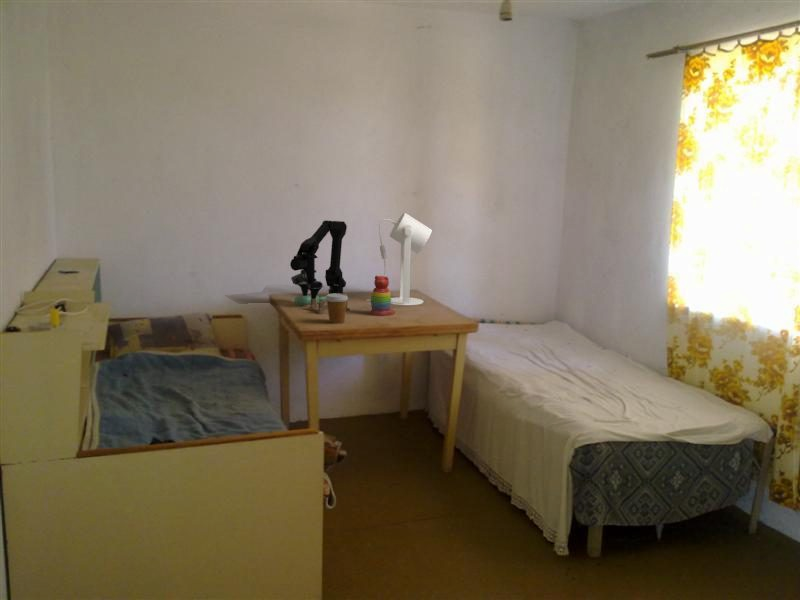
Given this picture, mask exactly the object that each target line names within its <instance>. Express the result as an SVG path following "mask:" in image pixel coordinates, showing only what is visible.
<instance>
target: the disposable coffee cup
mask: <svg viewBox="0 0 800 600" xmlns="http://www.w3.org/2000/svg"><path fill="white" fill-rule="evenodd" d="M326 296H327V297H326V299H327V301H326V302H327V304H326V305H328V312H329V313H328V319H329V320H328V321H329V323H330V324H333V323H336V324H337V323H338V324H337V325H339V323H340V324H344V323H345V319H346V318H345V316H346V312H347V311H346V304H347V305H348V300H349V297H348V295H347V293H343V294H341V293H333V294H329V293H328V294H327V295H326ZM336 324H335V325H336Z"/></svg>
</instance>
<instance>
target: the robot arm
mask: <svg viewBox="0 0 800 600" xmlns="http://www.w3.org/2000/svg"><path fill="white" fill-rule="evenodd" d="M347 228H348V226H347V223H346V222H345V221H341V220H340V221H339V220H323V221H322V223H321V225H320V226H319V227H318V228H317V230H316V231H315V232H314V233H313V234H312V235H311V236H310V237H309V238H307V239H305V240H304V241H302V243H301V244H300V246H299V248H298V251H297V253H296V255H293V258H292V259H291V260H290V263H289V265H290V268H291V270H293V271H300V273H298V274H295V275H293V276H292V277H291V278H290V279H291V281H292V284H293V285H296V286H298V287H299V288H300V290H301V293H302V296H308V292H310V295H311V299H315V298H316V296H317V295H318V294H319V292H320V290H322V288H323V283H322V282H321V281H318V280H317V278H315V277H316V275H315V274H316V273H317V270H316V268H315V267H316V266H315V262H316V261H315V260H316V259H318V256H317V255H316V253H317V251H318V250H319V248H320V247H319V246H320V243H321V242H322V241H323V239H324V238H325V237H326V236H327V235H328V234H330V237H331V239H332V240H331V252H330V262H329V263H330V264H329V267H328V269H325V274H324V275H325V276H324V278H325V283H326V287H329V289H328V294H333V293H341V294H344V288H345V287H346V285H347V281H346V280H345V279H344V277H343V271H342V269H341V256H342V243H343V239H344V237H345V236H346V234H347V233H346V232H347Z"/></svg>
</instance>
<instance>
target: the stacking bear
mask: <svg viewBox="0 0 800 600" xmlns="http://www.w3.org/2000/svg"><path fill="white" fill-rule="evenodd" d="M389 284H390V281H389V277H387V276H386V277H384V275H375V276H374V286H375V287H374V288H373V290H372V292H371V297H370V300H371V301H370V304H371V306H370V307H371V310H370V314H371V315H372V316H376V317H377V316H379V317H385V316H393V315H395V313H396V312H395V311H396V310H395V309H393V308H391V305H392V304H391V298H392V296H391V292H390V289H389V288H388V287H389Z"/></svg>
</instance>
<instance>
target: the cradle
mask: <svg viewBox="0 0 800 600" xmlns="http://www.w3.org/2000/svg"><path fill="white" fill-rule="evenodd" d="M307 309H308V310H309V309H310V310H309V311H311V310H312V311H311V312H313V311H314V313H316V314H318V315H321V314H322V313H324V314H329V312H328V304H325V302H324V301H319V302H318V304H316V299H311V304H310V306H308V307H307ZM350 311H351V308H349V307H348V303H347V304H346V311H345V312H350ZM322 315H323V314H322Z"/></svg>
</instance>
